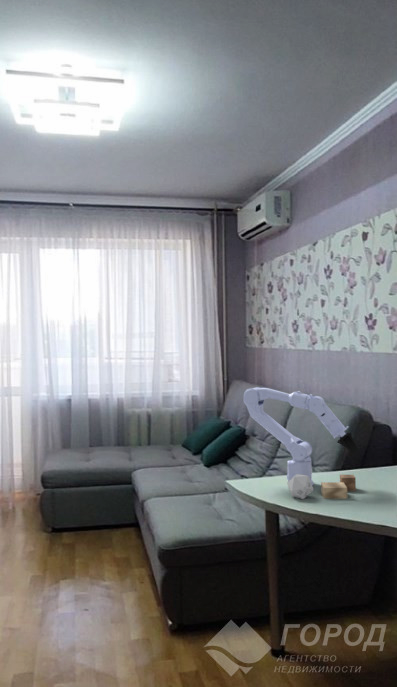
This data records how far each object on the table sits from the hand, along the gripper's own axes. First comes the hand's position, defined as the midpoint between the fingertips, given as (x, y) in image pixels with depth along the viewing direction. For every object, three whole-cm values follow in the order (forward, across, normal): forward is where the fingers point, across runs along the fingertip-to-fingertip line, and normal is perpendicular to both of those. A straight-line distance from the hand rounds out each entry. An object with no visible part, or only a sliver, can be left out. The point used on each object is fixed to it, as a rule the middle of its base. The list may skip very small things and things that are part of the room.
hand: (355, 451), depth 213 cm
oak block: (+7, -10, +17) cm, 20 cm away
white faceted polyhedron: (0, -13, +26) cm, 29 cm away
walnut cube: (+9, -1, +11) cm, 14 cm away
